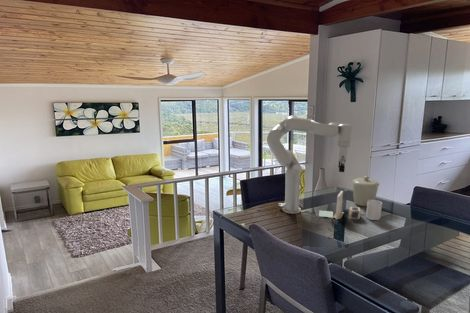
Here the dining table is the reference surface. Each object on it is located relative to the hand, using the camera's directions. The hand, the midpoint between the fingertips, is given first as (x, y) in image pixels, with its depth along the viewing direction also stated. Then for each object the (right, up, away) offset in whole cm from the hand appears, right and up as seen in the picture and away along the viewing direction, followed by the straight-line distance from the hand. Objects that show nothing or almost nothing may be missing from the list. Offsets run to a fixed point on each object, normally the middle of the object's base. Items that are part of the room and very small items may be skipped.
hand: (341, 169), depth 214 cm
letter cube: (+10, -32, +6) cm, 34 cm away
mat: (-7, -31, +9) cm, 33 cm away
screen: (0, -31, +7) cm, 32 cm away
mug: (+23, -32, +6) cm, 39 cm away
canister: (+25, -26, +27) cm, 45 cm away
